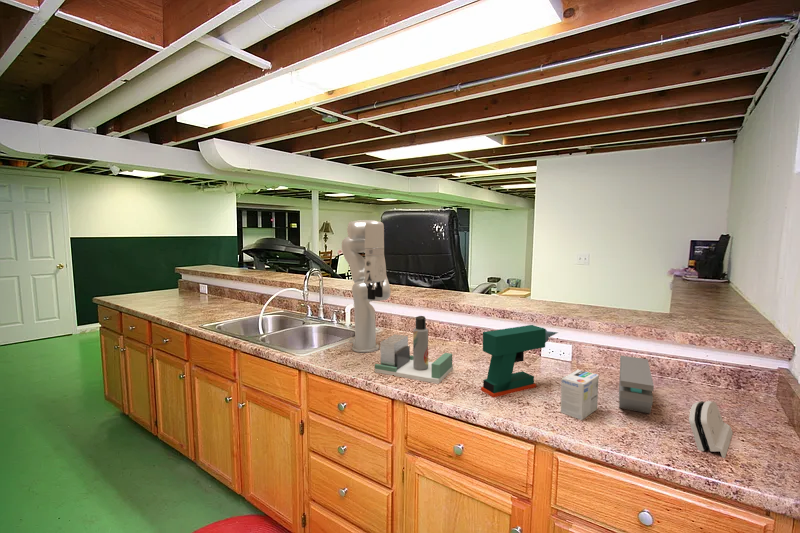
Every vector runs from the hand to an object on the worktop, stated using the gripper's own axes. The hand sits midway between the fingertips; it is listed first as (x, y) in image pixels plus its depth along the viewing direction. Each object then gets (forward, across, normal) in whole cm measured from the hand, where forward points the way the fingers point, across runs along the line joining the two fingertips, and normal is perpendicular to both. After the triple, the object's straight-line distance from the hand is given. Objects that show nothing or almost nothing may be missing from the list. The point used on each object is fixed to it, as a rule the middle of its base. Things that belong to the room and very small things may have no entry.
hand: (375, 297), depth 152 cm
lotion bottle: (+26, 0, -20) cm, 33 cm away
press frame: (+27, 0, -17) cm, 32 cm away
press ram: (+26, 0, -9) cm, 27 cm away
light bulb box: (+28, -9, -75) cm, 80 cm away
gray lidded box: (+28, +4, -90) cm, 94 cm away
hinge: (+28, -12, -105) cm, 109 cm away
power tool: (+28, +4, -57) cm, 63 cm away
